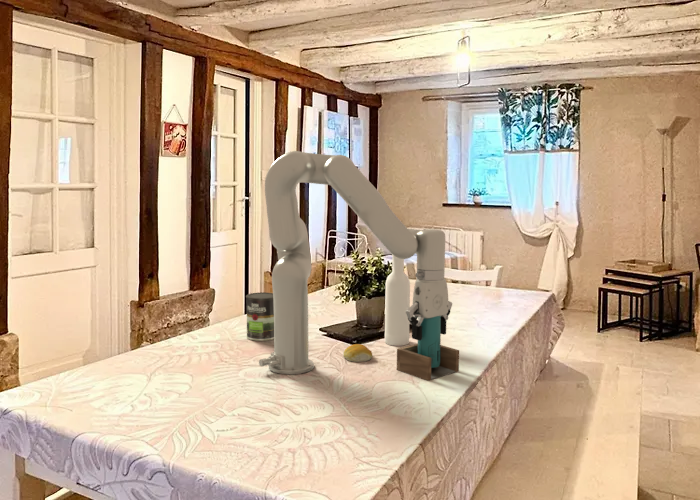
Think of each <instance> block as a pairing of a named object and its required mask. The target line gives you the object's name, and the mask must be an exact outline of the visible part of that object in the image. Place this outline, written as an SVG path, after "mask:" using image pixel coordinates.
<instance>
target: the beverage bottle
mask: <svg viewBox="0 0 700 500" xmlns="http://www.w3.org/2000/svg"><path fill="white" fill-rule="evenodd" d="M418 319H419V318H417V320H418ZM420 326H422V340H420V341H419V340H417V344H418V347H417V354H421V355H424V356H427V357H430V358H431V368H435V367H438V366H439V365H440V362H441V361H440V360H441V348H440V345H441V341H442V340H441V338H442V337H441V336H442V334H441V330H440V329H441V328H440V327H441V316H436V317H433V318H429V319H425V318H424V319H423V321H422V323H421V325H420Z"/></svg>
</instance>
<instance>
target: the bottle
mask: <svg viewBox="0 0 700 500" xmlns="http://www.w3.org/2000/svg"><path fill="white" fill-rule="evenodd" d="M391 256H392V258H391V259H392V262H391V264H392V265H391V266H392V267H391V269H392V271H391V272H390V274H389V275H387V277H386V280H385V295H384V296H385V298H384V299H385V301H384V302H385V304H384V308H385V310H384V315H385V316H384V317H385V318H384V343H385V344H387V345H389V346H395V347H404V346H408V345H409V343H410V337H411V335H410V321H409V320H408V317H407V314H406V310H407V309H408V308H410V307H411V305H410V304H411V282H410V278H409V276H408V275H407V274H406V273H405V272H404V270H405V268H404V266H405V259H399V258H397V257H395V256H394V255H393V254H392V253H391Z"/></svg>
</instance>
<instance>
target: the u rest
mask: <svg viewBox="0 0 700 500" xmlns="http://www.w3.org/2000/svg"><path fill="white" fill-rule="evenodd" d="M417 347H418V343H415V344H412V345H405V346H401V347H398V348H396V371H399V372H402V373H405V374H408V375H411V376H413V377H417V378H419V379H422V380H424V381H432V380H434V379H438V378H442V377H445V376H448V375H451V374H454V373H458V372H459V371H460V369H459V368H460V349H456V348H453V347H449V346H446V345H442V344H440V348H441V360H440V361H441V362H440V365H439V366H438V367H435V368H431V358H430V357H427V356H424V355H421V354H417Z"/></svg>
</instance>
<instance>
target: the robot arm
mask: <svg viewBox="0 0 700 500" xmlns="http://www.w3.org/2000/svg"><path fill="white" fill-rule="evenodd" d="M300 183H307V184H315V185H326V186H331V188H332V189H333V190H334V191H335V192H336V193H337V194H338V196H340V197H341V199H342V200H343V201H344V202H345V203H346V204H347V205H348V206H349V207H350V209H351V210H352V211H353V212H354V214H355V215H357V217H358V218H359V219H360V220H361V221H362V223H364V224H365V225H366V226H367V228H368V229H369V230H370V231H371V232H372V233H373V235H374V236H375V237H376V238H377V239H378V240H379V241H380V243H381V244H382V245H383V246H384V247H385V248H386V249H387V250H388V251H389V253H390V254H391V255H392V254H393V255H394V256H395V257H397V258H399V259H404V260H407V259H410V258H412V257H413V256H414V255H415V254H416V272H415V278H416V280H415V283H414V287H413V294H412V304H411V305H410V308H408V309H407V310H406V314H407V317H408V320H409V325H411V338H412V339H413V340H416V341H418V340H419V341H420V340H422V326H420V325H421V323H422V321H423V319H424V318H425V319H429V318H433V317H436V316H441V327H440V328H441V329H440V330H441V335H443V336H444V335H446V334H447V321H448V319H449V315H450V314H451V310H452V307H453V302H452V301H450V300H449V290H448V282H447V279H446V278H445V268H446V266H445V264H446V234H445V231H443V230H441V229H433V228H432V229H431V228H429V229H414V228H407V226H406V225H405V224H404V223H403V222H402V221H401V219H400V218H399V217H398V216H397V215H396V214H395V213H394V211H393V210H392V209H391V207H390V206H389V204H388V203H387V201H386V199H385V198H384V197H383V195H382V194H381V193H380V191H379V190H378V189H377V188H376V187H375V186H374V185H373V184H372V182H370V180H369V179H368V178H367V177H366V176H365V175H364V173H363V172H362V171H361V170H360V169H359V168H358V167H357V165H356V164H355V163H354V161H353V160H352V159H350V157H348V156H346V155H342V154H335V155H334V154H320V153H311V152H303V151H300V150H293V151H290V152H288V151H287V152H286V153H284V154H282V155H281V156H280V157H278V158H277V159H276V160H275V161H274V162H272V164H271V165H270V166H269V169H268V170H267V172H266V176H265V179H264V196H265V204H266V206H265V207H266V214H267V215H266V216H267V224H268V233H269V234H268V235H269V240H270V242H271V244H272V246H273V247H274V248H275V249H276V252H277V260H278V261H276V263H275V265H274V266H273V269H272V272H271V284H272V285H271V286H272V293H273V301H274V339H273V345H274V346H273V348H274V349H273V352H271V353H270V356H268V358H262V359H259V360H258V365H259V366H260V367H265V366H268V369H269V371H271V372H273V373H276V374H282V375H299V374H304V373H307V372H310V371H312V370H313V369H314V367H315V363H314V361H313V360H312V359H309V295H308V294H309V293H308V292H309V291H308V280H309V278H310V276H311V274H312V270H313V269H312V267H313V266H312V257H311V251H310V249H311V248H310V242H309V241H310V240H309V233H308V228H307V225H306V223H305V222H304V221H303V219H302V218H301V217H300V213H299V204H298V203H299V202H298V197H297V185H298V184H300ZM418 318H419V319H418Z"/></svg>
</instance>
